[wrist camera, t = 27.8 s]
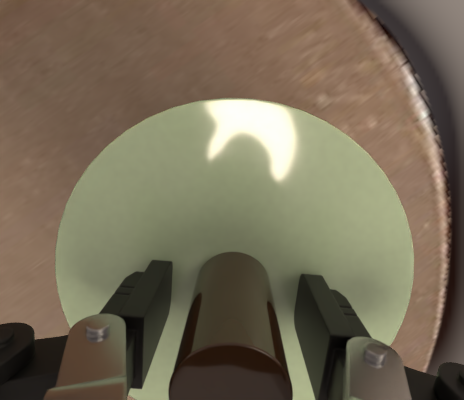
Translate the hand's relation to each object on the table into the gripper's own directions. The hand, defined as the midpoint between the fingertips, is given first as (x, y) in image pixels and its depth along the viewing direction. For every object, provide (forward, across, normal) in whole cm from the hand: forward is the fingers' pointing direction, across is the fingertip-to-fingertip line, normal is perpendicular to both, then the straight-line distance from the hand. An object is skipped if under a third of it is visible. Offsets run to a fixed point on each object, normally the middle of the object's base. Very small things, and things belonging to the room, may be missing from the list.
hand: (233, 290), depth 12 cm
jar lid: (+1, 0, 0) cm, 1 cm away
